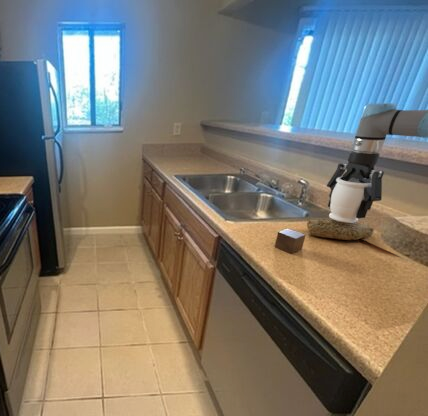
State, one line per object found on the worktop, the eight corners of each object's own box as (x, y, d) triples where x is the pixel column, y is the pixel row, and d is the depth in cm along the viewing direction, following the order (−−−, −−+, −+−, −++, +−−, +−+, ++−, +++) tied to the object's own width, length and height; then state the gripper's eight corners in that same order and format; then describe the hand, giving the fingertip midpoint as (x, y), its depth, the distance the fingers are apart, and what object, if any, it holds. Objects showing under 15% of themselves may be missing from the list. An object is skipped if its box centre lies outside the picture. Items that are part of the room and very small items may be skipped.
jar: (340, 212, 108) (352, 175, 102) (369, 222, 98) (384, 182, 93) (318, 215, 106) (329, 177, 100) (345, 226, 96) (359, 185, 91)
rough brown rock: (308, 241, 104) (382, 244, 93) (308, 221, 103) (382, 221, 92) (305, 234, 115) (370, 235, 104) (305, 216, 114) (370, 215, 103)
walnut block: (301, 250, 96) (306, 234, 94) (291, 254, 93) (295, 238, 91) (284, 242, 101) (288, 228, 99) (274, 246, 98) (277, 231, 96)
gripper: (325, 147, 103) (310, 202, 111) (393, 158, 82) (368, 225, 90) (342, 146, 104) (326, 200, 112) (414, 157, 83) (388, 223, 91)
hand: (345, 211), depth 101 cm, fingers closed on jar, 10 cm apart
